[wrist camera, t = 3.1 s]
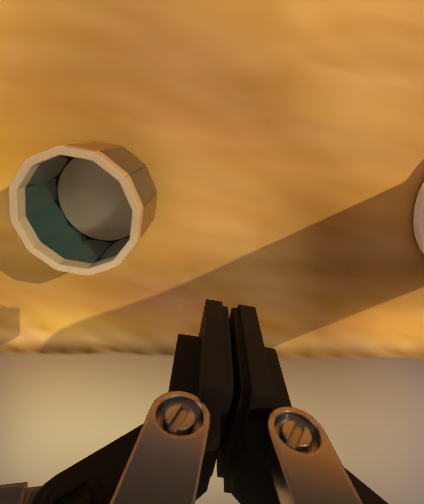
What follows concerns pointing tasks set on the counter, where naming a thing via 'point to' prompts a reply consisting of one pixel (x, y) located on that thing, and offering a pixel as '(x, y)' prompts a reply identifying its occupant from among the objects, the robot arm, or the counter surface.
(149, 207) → the teal cup
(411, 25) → the counter surface
